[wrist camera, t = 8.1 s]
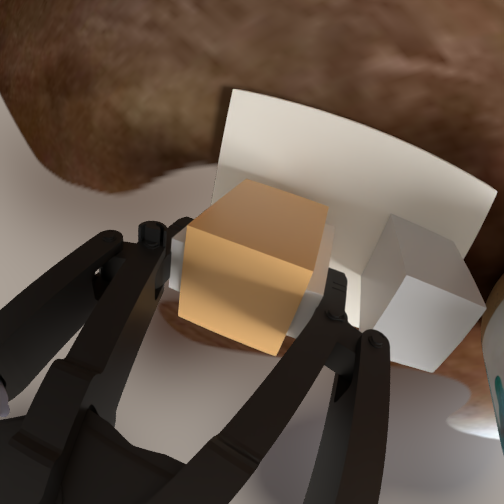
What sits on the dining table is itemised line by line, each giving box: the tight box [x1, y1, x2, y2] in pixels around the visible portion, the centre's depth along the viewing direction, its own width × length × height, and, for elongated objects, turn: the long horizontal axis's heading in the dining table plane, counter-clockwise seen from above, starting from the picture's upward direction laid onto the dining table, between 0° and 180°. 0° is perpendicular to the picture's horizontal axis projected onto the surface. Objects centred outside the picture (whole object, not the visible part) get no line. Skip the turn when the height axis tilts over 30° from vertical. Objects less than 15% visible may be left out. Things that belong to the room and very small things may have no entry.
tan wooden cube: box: [178, 179, 329, 356], centre depth 15 cm, size 5×5×7 cm
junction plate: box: [211, 89, 497, 373], centre depth 16 cm, size 18×14×8 cm
